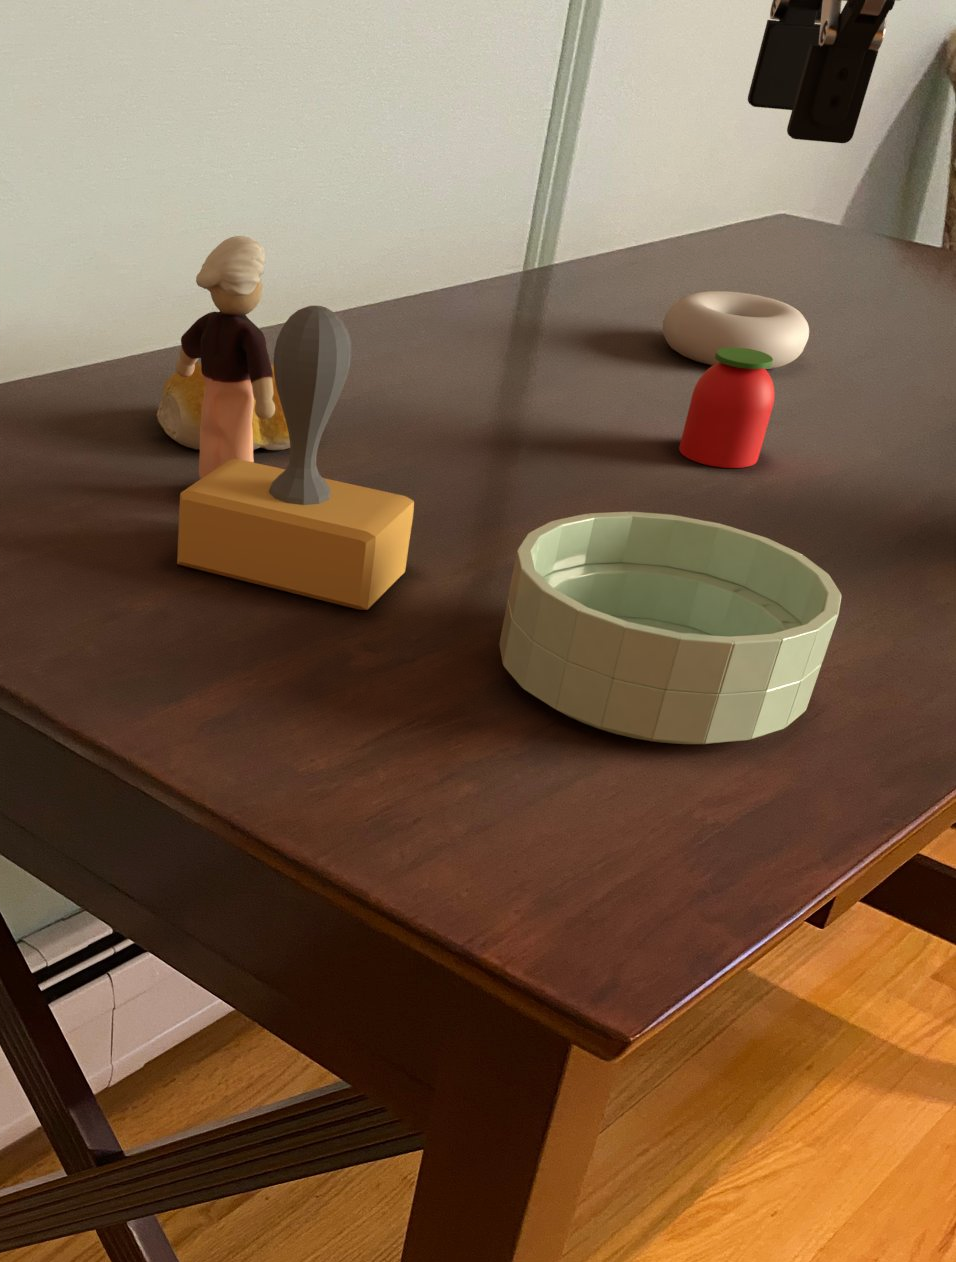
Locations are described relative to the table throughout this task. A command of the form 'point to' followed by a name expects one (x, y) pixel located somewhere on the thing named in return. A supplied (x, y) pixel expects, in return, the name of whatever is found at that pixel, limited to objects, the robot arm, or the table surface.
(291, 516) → the rubber stamp
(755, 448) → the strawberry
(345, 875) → the table surface
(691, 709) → the bowl
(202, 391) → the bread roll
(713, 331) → the donut
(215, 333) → the grandmother figurine
